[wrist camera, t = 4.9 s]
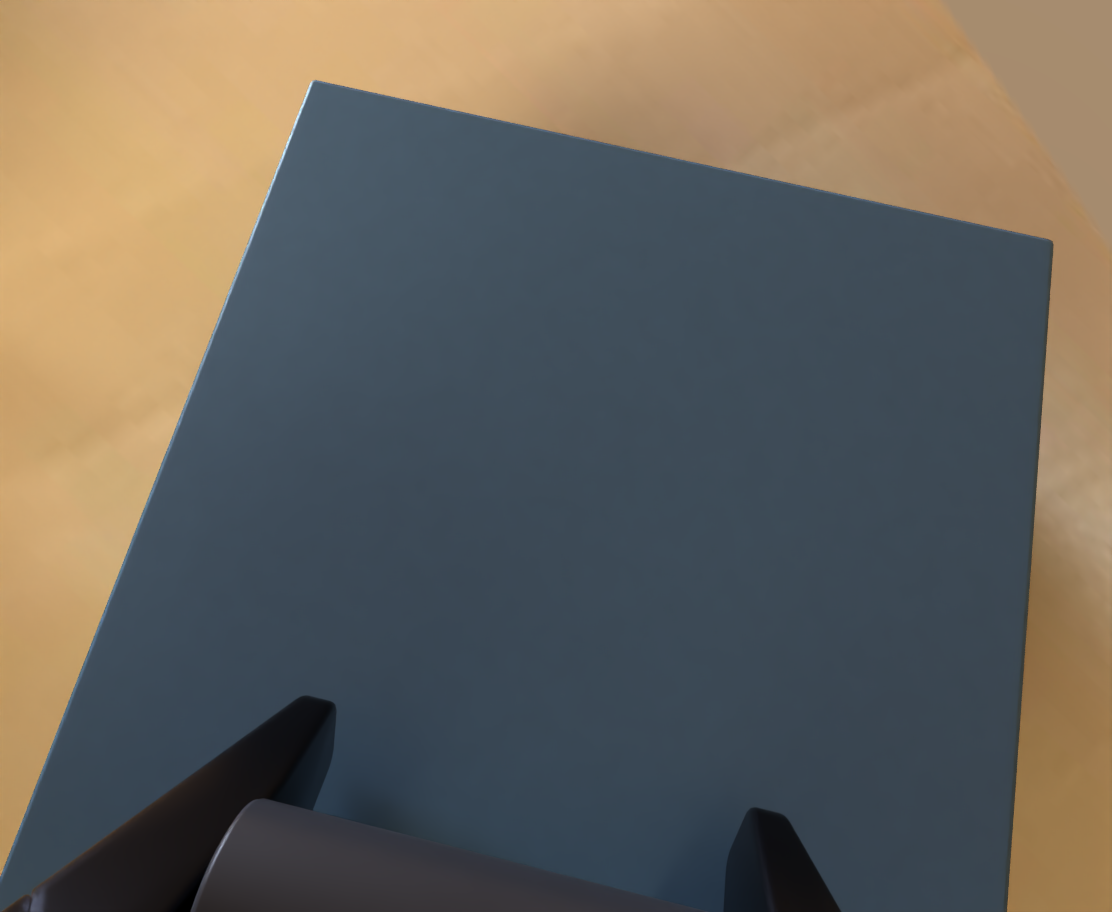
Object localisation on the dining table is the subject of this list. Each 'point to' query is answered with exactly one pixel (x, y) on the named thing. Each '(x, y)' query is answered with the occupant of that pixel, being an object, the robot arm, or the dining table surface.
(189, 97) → the dining table surface
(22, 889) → the lid
